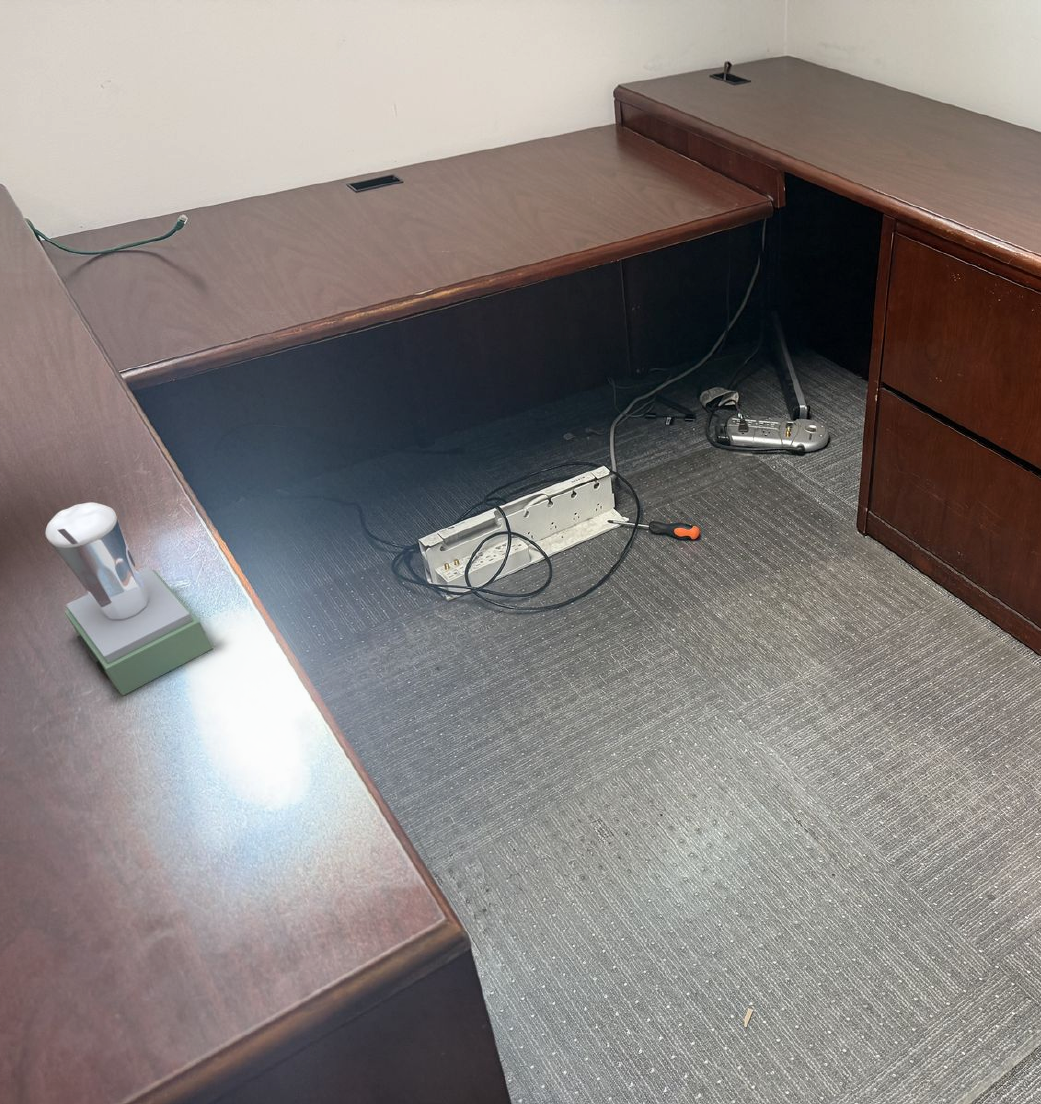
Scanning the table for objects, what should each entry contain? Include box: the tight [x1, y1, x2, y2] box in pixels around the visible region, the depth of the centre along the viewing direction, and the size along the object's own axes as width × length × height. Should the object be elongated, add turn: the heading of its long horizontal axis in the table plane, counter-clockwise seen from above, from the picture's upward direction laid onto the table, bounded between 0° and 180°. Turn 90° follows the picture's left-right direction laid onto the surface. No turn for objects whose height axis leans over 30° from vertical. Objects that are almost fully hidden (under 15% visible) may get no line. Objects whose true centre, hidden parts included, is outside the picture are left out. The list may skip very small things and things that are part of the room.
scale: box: [64, 565, 214, 696], centre depth 79 cm, size 7×9×4 cm
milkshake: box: [45, 501, 149, 620], centre depth 75 cm, size 4×5×10 cm
